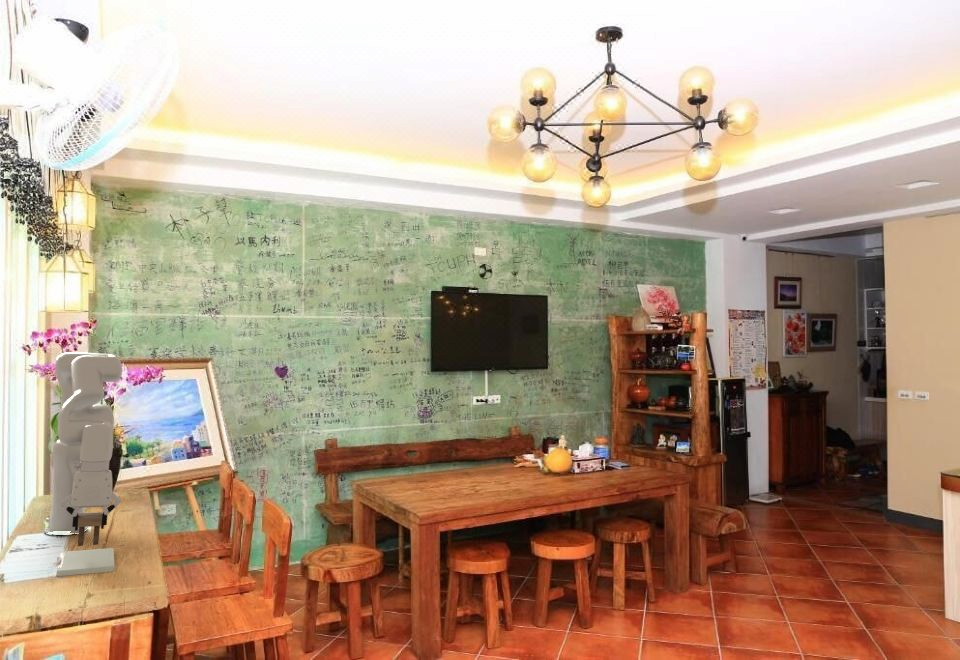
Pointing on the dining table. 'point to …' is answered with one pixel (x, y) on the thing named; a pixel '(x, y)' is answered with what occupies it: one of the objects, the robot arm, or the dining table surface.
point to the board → (87, 562)
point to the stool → (87, 521)
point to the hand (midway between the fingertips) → (89, 528)
